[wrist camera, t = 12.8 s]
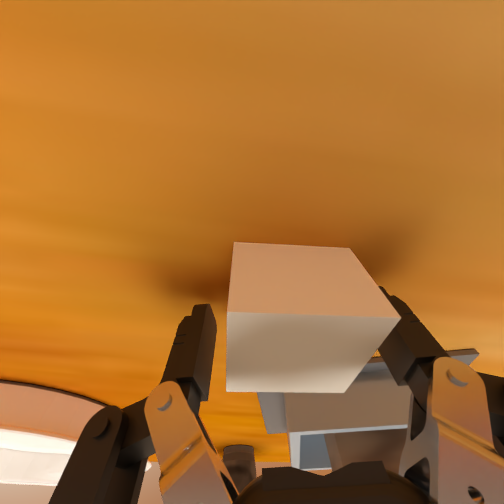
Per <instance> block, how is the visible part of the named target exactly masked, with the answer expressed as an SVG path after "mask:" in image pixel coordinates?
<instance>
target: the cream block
mask: <svg viewBox="0 0 504 504" xmlns="http://www.w3.org/2000/svg"><path fill="white" fill-rule="evenodd" d="M400 319H401V317H400V315H399V314H398V313H397V311H396V310H395V309H394V307H393V306H392V305H391V303H390V302H389V300H388V299H387V298H386V296H385V295H384V294H383V292H382V291H381V290H380V288H379V287H378V286H377V284H376V283H375V282H374V280H373V279H372V278H371V276H370V275H369V274H368V272H367V271H366V269H365V268H364V267H363V265H362V264H361V263H360V261H359V260H358V259H357V257H356V256H355V255H354V253H353V252H352V251H351V249H350V248H341V247H322V246H303V245H284V244H265V243H247V242H234V246H233V257H232V267H231V277H230V287H229V297H228V307H227V359H226V392H305V393H344V392H345V391H346V390H347V388H348V387H349V386H350V385H351V383H352V382H353V381H354V379H355V378H356V377H357V375H358V374H359V373H360V371H361V370H362V369H363V367H364V366H365V365H366V364H367V362H368V361H369V360H370V358H371V357H372V356H373V354H374V353H375V352H376V350H377V349H378V348H379V346H380V345H381V344H382V343H383V341H384V340H385V339H386V337H387V336H388V335H389V333H390V332H391V331H392V329H393V328H394V327H395V325H396V324H397V323H398V322H399V320H400Z"/></svg>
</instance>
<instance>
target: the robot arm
mask: <svg viewBox="0 0 504 504" xmlns="http://www.w3.org/2000/svg"><path fill="white" fill-rule="evenodd" d="M378 287H379V288H380V290H381V291H382V292H383V294H384V295H385V296H386V298H387V299H388V300H389V302H390V303H391V305H392V306H393V307H394V309H395V310H396V311H397V313H398V314H399V315H400V317H401V319H400V320H399V322H398V323H397V324H396V325H395V327H394V328H393V329H392V331H391V332H390V333H389V335H388V336H387V337H386V339H385V340H384V341H383V343H382V344H381V345H380V346H379V348H378V351H379V353H380V354H381V356H382V358H383V360H384V362H385V364H386V365H387V367H388V369H389V371H390V373H391V374H392V376H393V378H394V380H395V382H396V383H397V385H398V386H407V385H408V386H409V388H410V390H411V391H412V393H411V396H410V406H409V416H408V426H407V436H406V442H405V446H404V449H403V451H402V455H401V459H400V465H399V474H397V473H395V472H393V471H391V470H389V469H385V467H384V464H383V462H382V461H367V462H352V463H350V464H348V465H346V466H344V467H342V468H340V469H338V470H336V471H334V472H332V473H330V474H328V475H325V476H321V475H317V474H314V473H311V472H307V471H304V470H301V469H297V468H294V467H276V468H262V475H261V476H259V477H257V478H255V479H254V480H253V481H251V482H250V483H249V484H248V485H247V486H246V487H245V488H244V489H243V490H242V492H241V493H240V494H239V493H238V491H237V489H236V487H235V484H234V482H233V480H232V478H231V476H230V474H229V472H228V470H227V468H226V466H225V465H224V463H223V461H222V459H221V458H220V456H219V454H218V452H217V450H216V448H215V446H214V444H213V442H212V440H211V438H210V435H209V433H208V431H207V429H206V427H205V425H204V423H203V421H202V419H201V417H200V415H199V408H200V401H208V395H209V387H210V380H211V372H212V364H213V357H214V349H215V341H216V333H217V325H216V320H215V317H214V314H213V312H212V309H211V306H210V304H199V305H194V307H193V311H192V315H191V316H185V317H184V319H183V320H182V321H181V323H180V324H179V326H178V329H177V332H176V337H175V339H174V342H173V346H172V348H171V352H170V355H169V358H168V361H167V365H166V368H165V371H164V374H163V377H162V380H161V382H160V384H159V385H158V386H157V387H156V388H154V390H153V391H152V392H151V393H150V395H149V396H148V397H146V398H145V399H143V400H141V401H139V402H136V403H134V404H132V405H130V406H128V407H125V408H123V409H120V408H119V407H117V406H107V407H105V408H103V409H101V410H99V411H98V412H97V413H96V414H94V415H93V416H92V417H91V418H90V420H89V421H88V422H87V424H86V425H85V427H84V428H83V430H82V432H81V435H80V437H79V439H78V441H77V443H76V445H75V447H74V450H73V452H72V454H71V456H70V458H69V460H68V463H67V465H66V467H65V469H64V471H63V473H62V475H61V478H60V480H59V482H58V484H57V486H56V489H55V490H54V493H53V495H52V497H51V499H50V501H49V504H137V503H138V498H139V494H140V490H141V485H142V482H143V477H144V473H145V469H146V465H147V461H148V457H149V456H151V455H153V454H154V453H156V455H157V459H158V462H159V465H160V470H161V476H160V478H159V486H160V492H161V496H162V500H163V503H164V504H504V378H503V377H498V376H493V375H489V374H484V373H479V372H476V371H474V370H473V369H472V368H471V367H470V366H468V365H467V364H465V363H463V362H461V361H459V360H457V359H454V358H451V357H450V356H449V355H448V354H447V353H446V352H445V350H444V349H443V348H442V347H441V346H440V344H439V343H438V342H437V341H436V339H435V338H434V337H433V336H432V335H431V333H430V332H429V331H428V330H427V329H426V327H425V326H424V325H423V324H422V323H421V322H420V320H419V319H418V318H417V317H416V315H415V314H413V312H412V311H411V309H410V308H409V307H408V306H407V305H406V303H404V302H403V301H402V300H400V299H399V298H397V297H396V296H394V295H393V296H389V294H388V293H387V292H386V290H385V289H384V288H383V287H381V286H378ZM496 451H497V452H496Z"/></svg>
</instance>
